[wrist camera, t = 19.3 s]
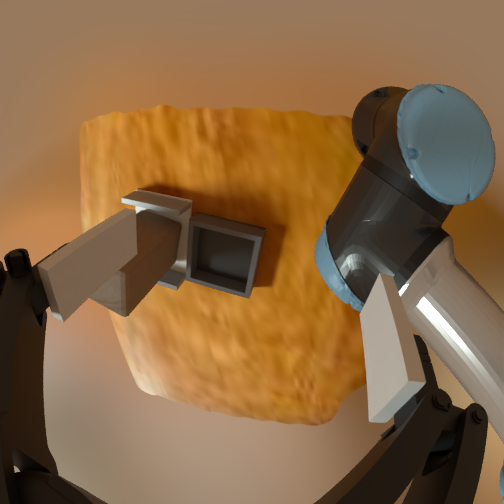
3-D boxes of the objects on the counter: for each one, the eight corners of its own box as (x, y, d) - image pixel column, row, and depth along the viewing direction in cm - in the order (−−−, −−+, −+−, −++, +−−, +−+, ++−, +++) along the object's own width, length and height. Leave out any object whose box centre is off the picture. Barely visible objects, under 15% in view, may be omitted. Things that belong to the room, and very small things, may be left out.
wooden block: (142, 207, 54) (77, 249, 36) (184, 222, 53) (125, 273, 36) (139, 247, 58) (82, 296, 41) (177, 263, 58) (126, 321, 41)
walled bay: (192, 200, 51) (179, 209, 46) (187, 277, 60) (176, 291, 55) (137, 188, 53) (121, 196, 48) (139, 261, 61) (126, 273, 56)
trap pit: (265, 228, 50) (261, 237, 47) (253, 287, 57) (249, 298, 54) (197, 212, 52) (189, 219, 49) (193, 270, 59) (185, 280, 55)
